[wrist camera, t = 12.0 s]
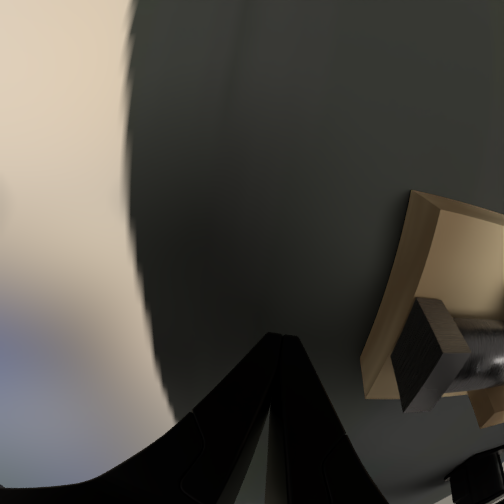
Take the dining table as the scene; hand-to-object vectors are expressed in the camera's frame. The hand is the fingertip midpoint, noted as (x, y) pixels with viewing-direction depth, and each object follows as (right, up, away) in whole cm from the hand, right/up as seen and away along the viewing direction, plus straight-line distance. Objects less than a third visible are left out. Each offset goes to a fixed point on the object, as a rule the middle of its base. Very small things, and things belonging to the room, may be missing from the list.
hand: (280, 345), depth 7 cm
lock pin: (+8, 0, 0) cm, 8 cm away
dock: (+17, -1, +1) cm, 17 cm away
